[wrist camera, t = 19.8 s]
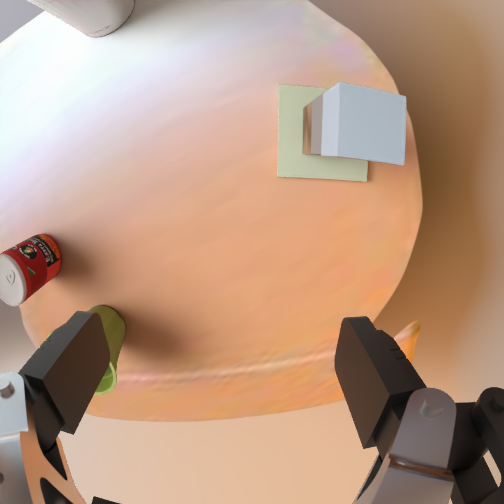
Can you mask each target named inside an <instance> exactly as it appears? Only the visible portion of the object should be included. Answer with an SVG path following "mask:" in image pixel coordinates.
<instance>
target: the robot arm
mask: <svg viewBox="0 0 504 504" xmlns="http://www.w3.org/2000/svg"><path fill="white" fill-rule="evenodd" d="M27 1H29V2H31V3H33V4H35V5H37V6H38V7H40V8H42V9H44V10H45V11H47V12H49V13H51V14H52V15H54V16H56V17H57V18H59V19H61V20H62V21H64V22H66V23H67V24H69V25H71V26H72V27H74V28H76V29H77V30H79V31H80V32H82V33H84V34H85V35H87V36H90V37H100V36H104V35H107V34H109V33H111V32H113V31H114V30H116V29H117V28H119V27H120V26H121V25H122V24H123V23H124V22H125V21H126V20H127V19H128V17H129V16H130V14H131V13H132V10H133V8H134V0H27ZM109 364H110V349H109V346H108V342H107V339H106V335H105V332H104V328H103V324H102V320H101V317H100V315H99V314H98V313H94V312H84V311H77V312H76V313H75V314H74V315H73V316H72V317H71V318H70V319H69V320H68V321H67V323H65V324H64V325H62V326H60V327H59V328H57V329H56V330H54V331H53V332H52V333H51V334H50V336H49V337H48V338H47V339H46V341H44V343H43V344H42V345H41V346H40V348H38V349H37V351H36V352H35V353H34V354H33V355H32V357H31V358H30V359H29V360H28V361H27V363H26V364H25V365H24V366H23V368H22V369H21V370H20V371H19V373H15V372H5V373H1V374H0V504H86V502H85V500H84V499H83V498H82V496H81V495H80V493H79V492H78V490H77V488H76V486H75V484H74V481H73V479H72V476H71V473H70V470H69V467H68V464H67V461H66V457H65V454H64V451H63V447H62V444H61V441H60V439H59V437H58V434H59V432H60V430H61V431H64V432H67V433H70V434H73V435H74V433H75V431H76V429H77V427H78V425H79V423H80V421H81V419H82V417H83V415H84V413H85V411H86V409H87V407H88V405H89V403H90V401H91V399H92V397H93V395H94V393H95V391H96V389H97V387H98V385H99V384H100V382H101V380H102V378H103V376H104V374H105V372H106V370H107V369H108V367H109ZM335 371H336V375H337V377H338V380H339V383H340V385H341V388H342V391H343V393H344V396H345V399H346V401H347V404H348V406H349V410H350V412H351V415H352V418H353V421H354V424H355V426H356V429H357V432H358V435H359V438H360V440H361V443H362V446H363V449H365V448H370V447H375V446H377V449H378V451H379V454H378V455H377V457H376V459H375V461H374V463H373V465H372V467H371V469H370V471H369V473H368V475H367V478H366V480H365V481H364V483H363V485H362V487H361V489H360V491H359V493H358V494H357V497H356V498H355V500H354V502H353V503H352V504H448V503H449V499H450V498H451V500H452V503H453V504H504V389H501V388H497V387H491V388H487V389H485V390H484V391H483V392H482V393H481V395H480V397H479V399H478V400H477V402H469V403H455V402H454V400H453V399H452V398H451V397H450V396H449V395H448V394H447V393H445V392H444V391H441V390H439V389H435V388H427V387H426V385H425V384H424V382H423V381H422V379H421V378H420V376H419V375H418V373H417V372H416V370H415V369H414V367H413V366H412V364H411V363H410V361H409V360H408V359H406V356H405V354H404V353H403V351H402V350H400V347H399V346H398V344H397V343H396V341H395V340H394V339H393V338H392V337H391V336H389V335H388V334H387V333H385V332H384V331H382V330H376V328H375V327H374V325H373V324H372V322H371V321H370V319H369V318H368V317H367V316H362V317H346V318H344V319H343V321H342V324H341V329H340V334H339V339H338V344H337V349H336V353H335ZM488 450H489V451H490V453H491V455H492V457H493V459H494V461H495V463H496V464H497V467H498V469H499V471H500V473H501V483H500V486H499V487H498V486H497V484H496V482H495V480H494V478H493V476H492V474H491V472H490V469H489V467H488V465H487V463H486V461H485V459H484V457H483V456H484V455H485V453H486V452H487V451H488ZM92 504H119V503H116V502H112V501H109V500H105V499H102V498H98V497H95V496H94V497H93V501H92Z"/></svg>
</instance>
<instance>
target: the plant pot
mask: <svg viewBox="0 0 504 504" xmlns="http://www.w3.org/2000/svg"><path fill="white" fill-rule="evenodd" d="M87 312H94V313H98V314H99V315H100V317H101V320H102V324H103V328H104V332H105V335H106V339H107V342H108V346H109V349H110V364H109V367H108V369H107V370H106V372H105V374H104V376H103V378H102V380H101V382H100V384H99V385H98V387H97V389H96V391H95V393H94V394H96V395H103V394H107V393H109V392H111V391H112V390H113V389H114V388H115V386H116V382H117V376H116V369H117V361H118V357H119V353H120V350H121V347H122V343H123V340H124V336H125V333H126V327H125V323H124V321H123V319H122V318H121V317H120V316H119V315H118V314H117V313H116V311H114V310H113V309H111V308H109V307H107V306H95V307H93V308H92V309H90V310H89V311H87ZM51 333H52V332H51ZM51 333H50V334H51ZM50 334H49V335H48V337H49V336H50ZM48 337H47V338H48Z"/></svg>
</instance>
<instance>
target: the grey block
mask: <svg viewBox="0 0 504 504" xmlns="http://www.w3.org/2000/svg"><path fill="white" fill-rule="evenodd" d="M324 93H325V92H324ZM322 117H323V93H322V94H321V95H320V96H318V97H317V98H316V99H314V100H313V101H312V129H311V154H319V155H321V144H322Z"/></svg>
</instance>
